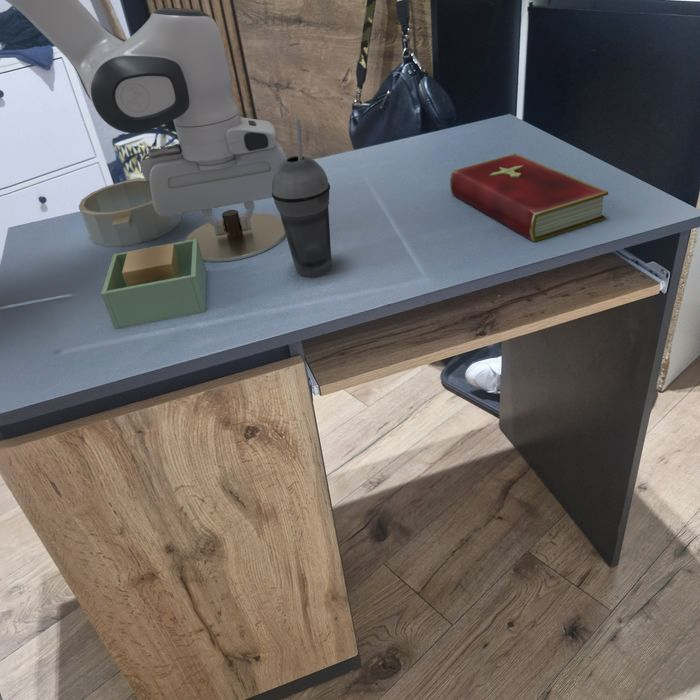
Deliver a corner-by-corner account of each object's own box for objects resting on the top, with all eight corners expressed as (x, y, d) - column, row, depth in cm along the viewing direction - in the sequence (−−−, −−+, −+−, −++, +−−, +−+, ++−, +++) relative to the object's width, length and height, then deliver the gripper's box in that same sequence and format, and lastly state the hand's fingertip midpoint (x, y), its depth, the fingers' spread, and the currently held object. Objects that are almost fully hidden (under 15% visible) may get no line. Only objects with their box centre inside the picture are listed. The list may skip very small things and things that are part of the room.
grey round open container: (82, 264, 96) (68, 227, 93) (101, 215, 113) (89, 182, 109) (179, 246, 98) (168, 209, 94) (184, 200, 114) (174, 167, 111)
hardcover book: (531, 243, 85) (533, 213, 82) (450, 195, 101) (449, 169, 99) (605, 219, 88) (608, 190, 86) (514, 177, 104) (515, 151, 102)
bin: (116, 332, 78) (100, 294, 75) (125, 290, 88) (112, 253, 85) (206, 315, 79) (195, 276, 76) (207, 274, 89) (197, 238, 85)
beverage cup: (304, 257, 89) (278, 110, 78) (351, 263, 86) (331, 110, 75) (277, 282, 84) (245, 129, 73) (326, 289, 81) (300, 130, 70)
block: (137, 314, 81) (121, 272, 77) (141, 292, 85) (127, 251, 82) (184, 305, 81) (171, 263, 78) (186, 283, 86) (173, 243, 83)
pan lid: (183, 274, 90) (174, 244, 87) (186, 230, 102) (178, 203, 100) (292, 253, 91) (287, 223, 88) (282, 212, 104) (277, 185, 101)
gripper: (133, 158, 84) (163, 253, 92) (286, 132, 86) (302, 227, 94) (138, 145, 90) (165, 235, 97) (282, 120, 91) (297, 211, 99)
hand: (234, 231), depth 96 cm, fingers closed
